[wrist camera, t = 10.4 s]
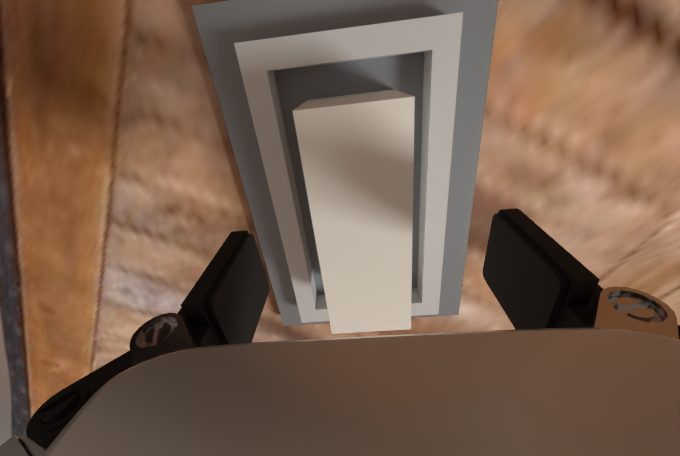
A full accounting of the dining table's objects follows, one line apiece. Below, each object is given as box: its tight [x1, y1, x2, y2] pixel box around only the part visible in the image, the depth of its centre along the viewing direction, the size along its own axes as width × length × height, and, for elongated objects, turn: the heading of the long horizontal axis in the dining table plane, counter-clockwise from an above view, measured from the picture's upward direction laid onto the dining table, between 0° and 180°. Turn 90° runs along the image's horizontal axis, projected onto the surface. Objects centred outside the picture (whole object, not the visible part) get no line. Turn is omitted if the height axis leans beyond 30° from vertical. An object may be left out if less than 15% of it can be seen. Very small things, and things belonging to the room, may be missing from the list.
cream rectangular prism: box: [293, 89, 415, 334], centre depth 15 cm, size 12×4×5 cm, turn 6°
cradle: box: [191, 0, 498, 326], centre depth 17 cm, size 21×14×2 cm, turn 6°
